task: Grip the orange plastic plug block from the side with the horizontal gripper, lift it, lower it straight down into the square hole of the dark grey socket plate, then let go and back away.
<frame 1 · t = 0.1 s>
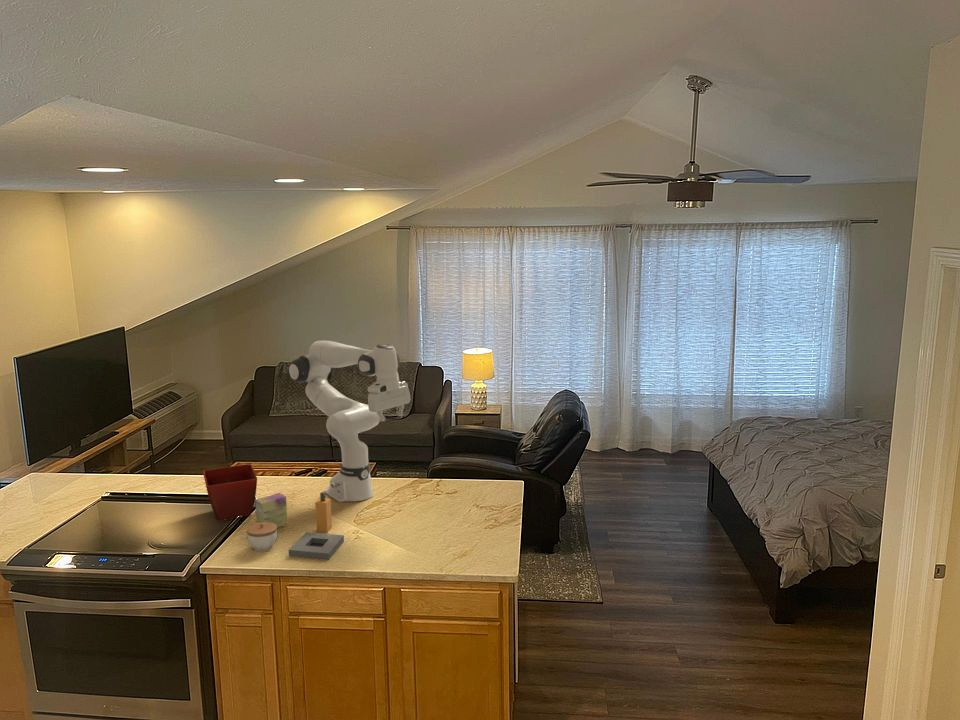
hand: (391, 418, 294), 39 cm above the table, tool pointing down, fingers open, 8 cm apart
lidded jar: (263, 548, 268), on the table
socket: (317, 548, 267), on the table
box: (272, 526, 286), on the table
plant pot: (232, 514, 298), on the table
plug: (324, 529, 283), on the table
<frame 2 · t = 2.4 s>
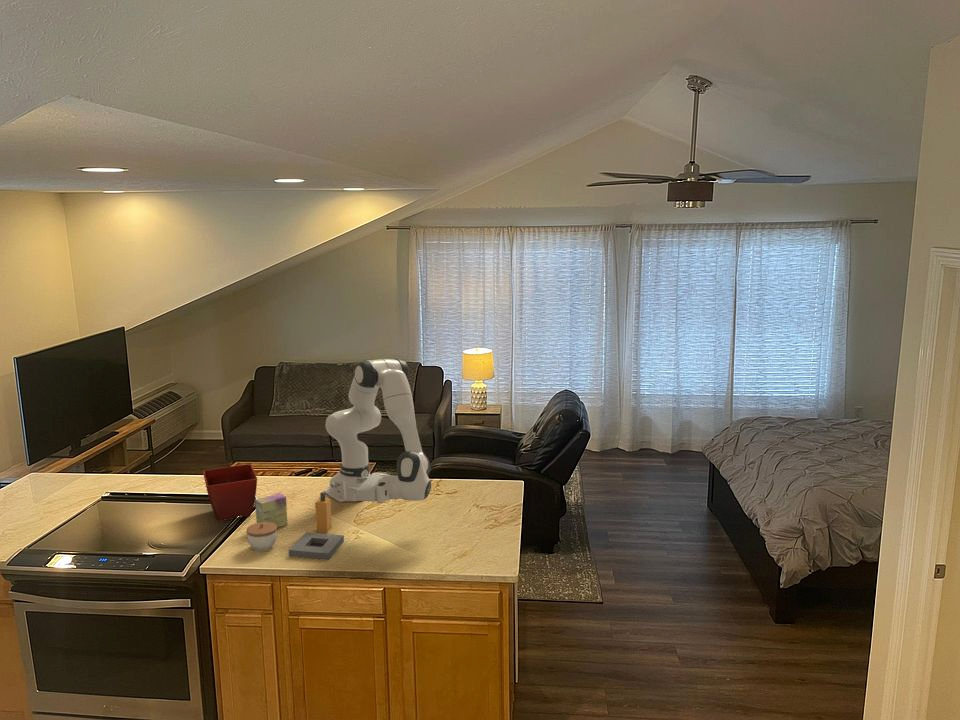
hand: (352, 484, 276), 19 cm above the table, tool horizontal, fingers open, 8 cm apart
nothing on the table moved.
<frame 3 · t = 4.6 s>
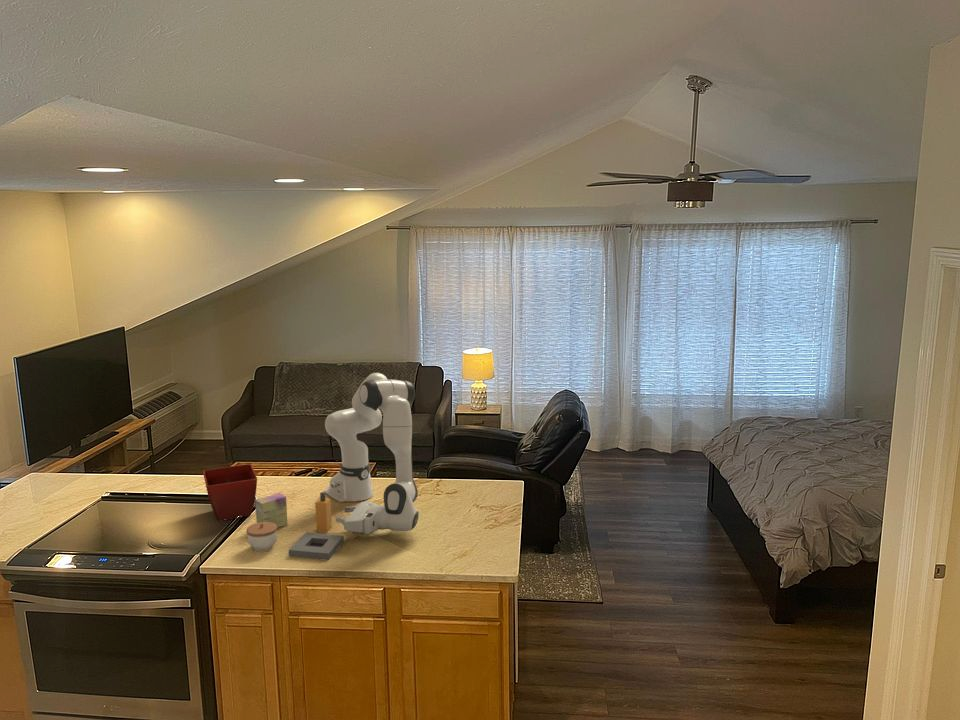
hand: (341, 514, 280), 7 cm above the table, tool horizontal, fingers open, 8 cm apart
nothing on the table moved.
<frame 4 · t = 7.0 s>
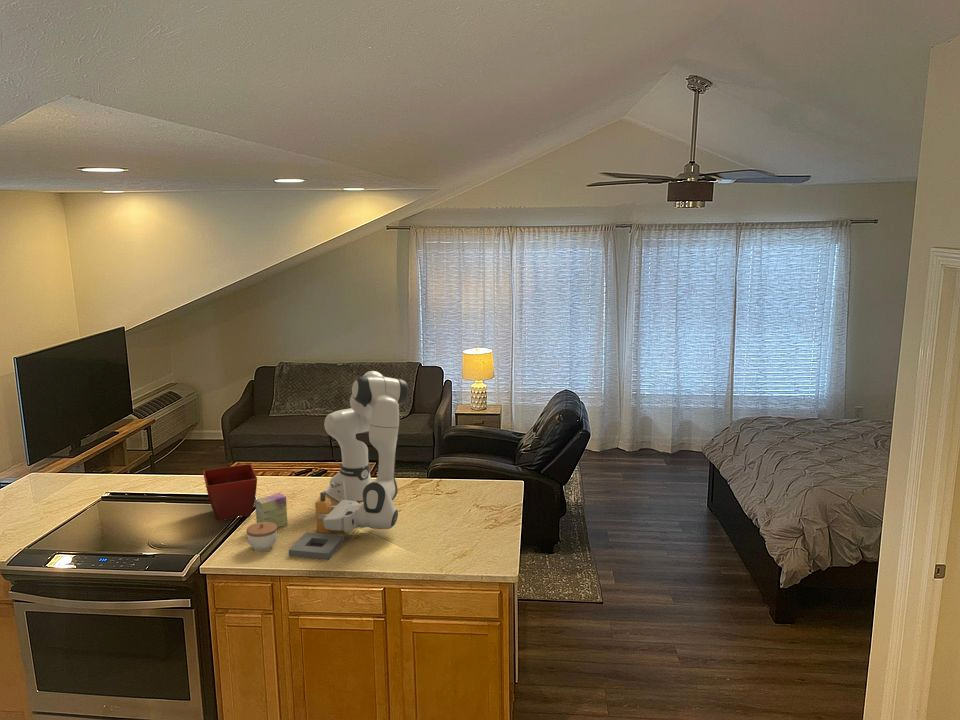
hand: (321, 512, 281), 7 cm above the table, tool horizontal, fingers closed on plug, 4 cm apart
plug: (324, 529, 283), on the table, touching gripper
everything else where it was.
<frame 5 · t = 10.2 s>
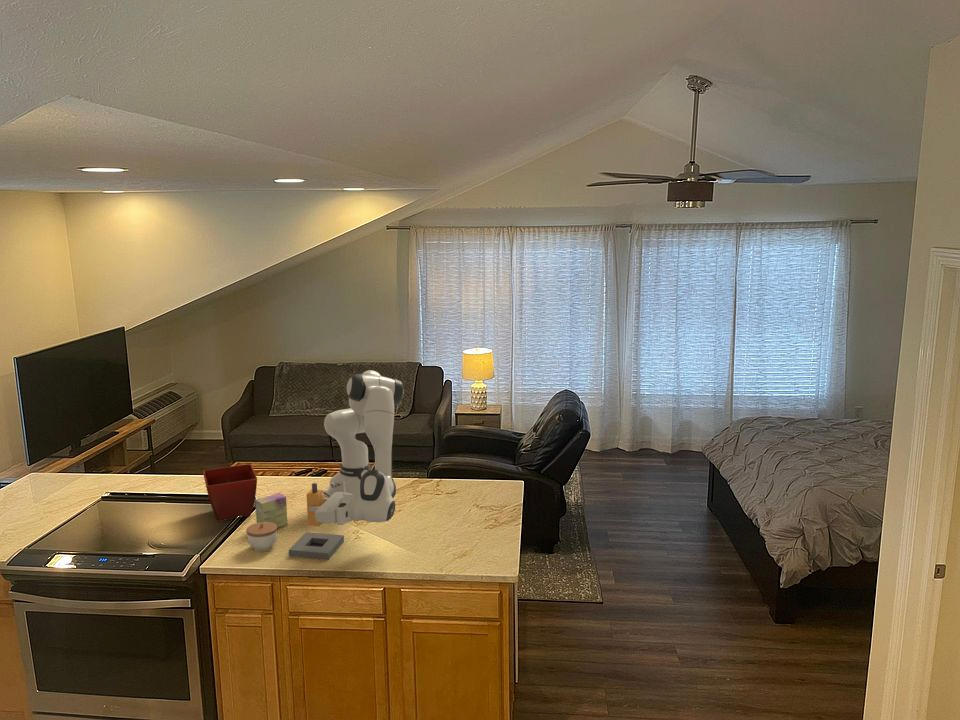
hand: (313, 504, 263), 17 cm above the table, tool horizontal, fingers closed on plug, 4 cm apart
plug: (316, 523, 265), point 10 cm above the table, touching gripper
everything else where it was.
when the fingers open (8 cm above the table, at t = 13.2 s): plug stays where it is, resting on socket.
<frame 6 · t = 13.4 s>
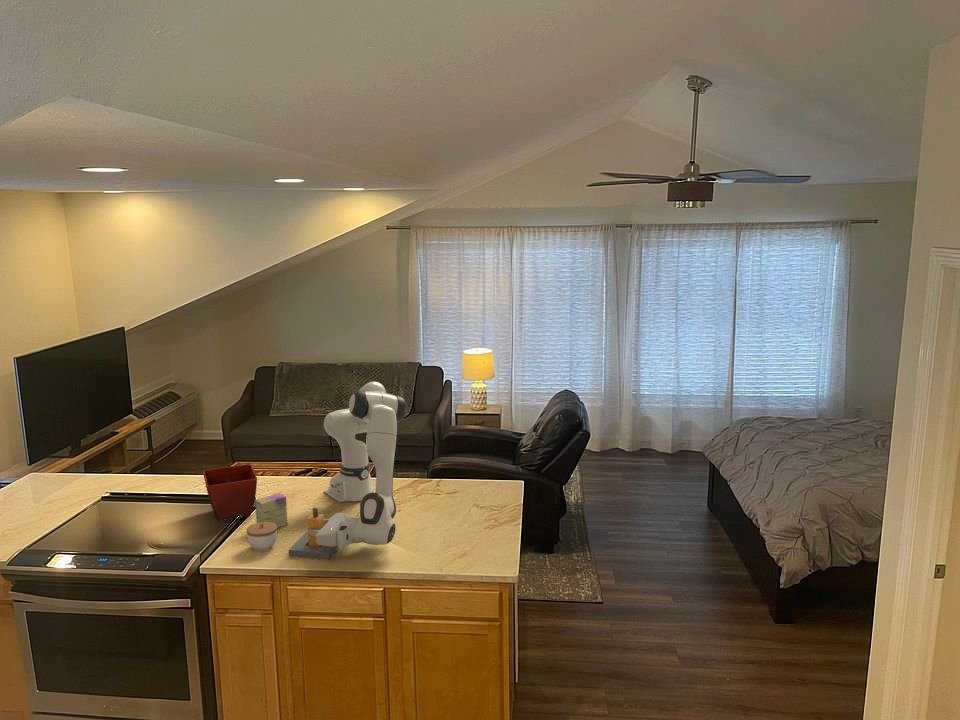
hand: (313, 526, 265), 8 cm above the table, tool horizontal, fingers open, 6 cm apart
plug: (317, 547, 267), point 1 cm above the table, touching socket
everything else where it was.
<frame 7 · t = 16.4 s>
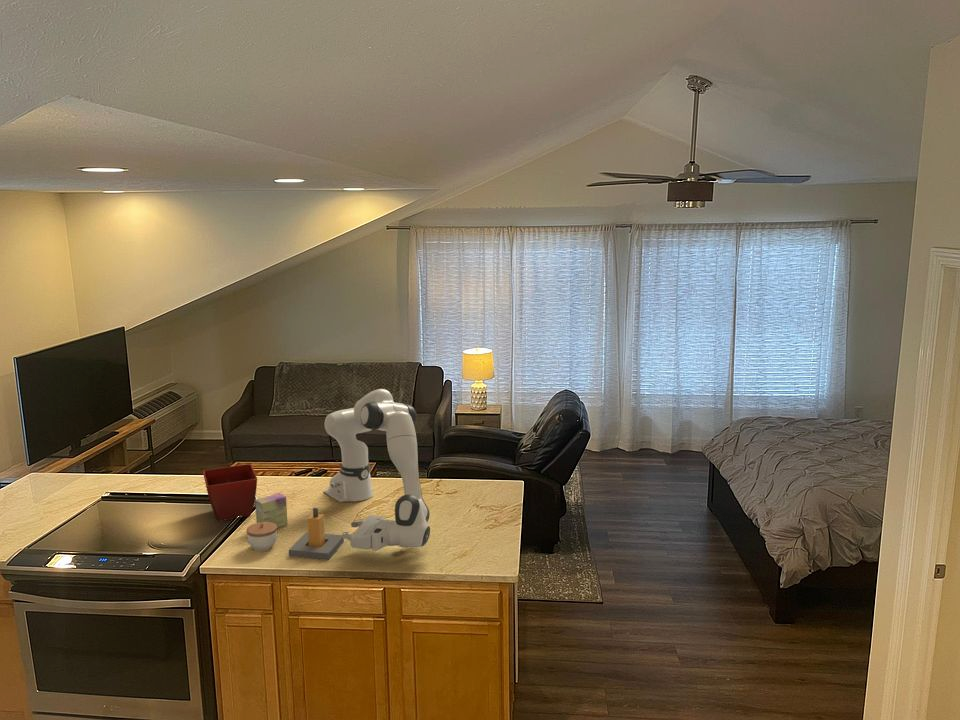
hand: (347, 529, 263), 9 cm above the table, tool horizontal, fingers open, 8 cm apart
nothing on the table moved.
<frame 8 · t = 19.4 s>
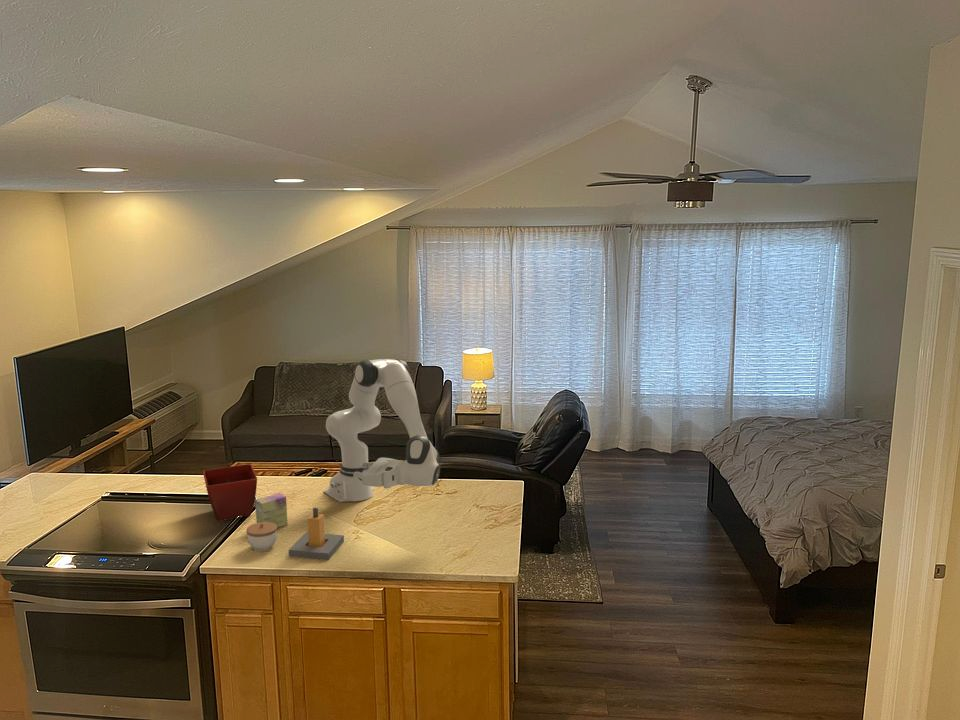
hand: (358, 469, 268), 28 cm above the table, tool horizontal, fingers open, 8 cm apart
nothing on the table moved.
at the end: plug 0.1 cm off-centre on the socket, point 0.5 cm above the socket's base; plug tilted 0°; the gripper is holding nothing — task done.
